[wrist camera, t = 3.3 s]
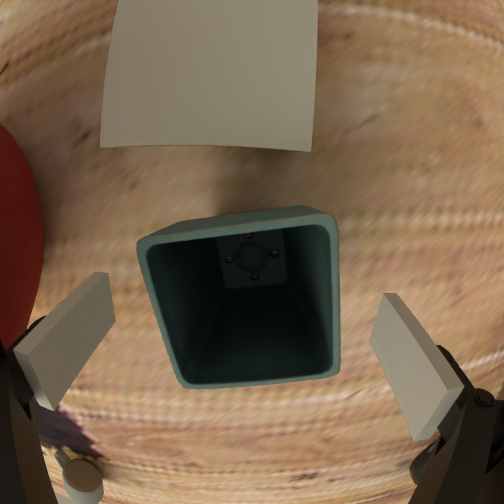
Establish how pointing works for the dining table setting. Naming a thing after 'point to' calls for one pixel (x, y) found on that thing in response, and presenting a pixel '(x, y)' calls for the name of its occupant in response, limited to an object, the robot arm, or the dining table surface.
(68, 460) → the ceramic mug
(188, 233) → the flower pot
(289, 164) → the dining table surface
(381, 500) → the dining table surface
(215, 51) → the stone block
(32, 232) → the mixing bowl
